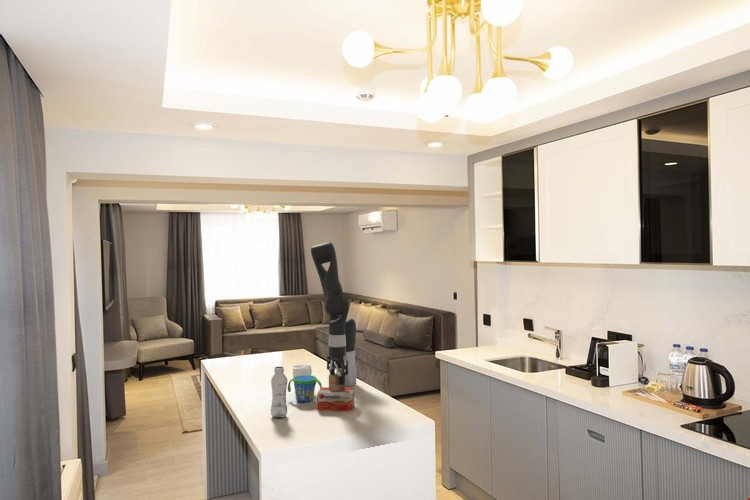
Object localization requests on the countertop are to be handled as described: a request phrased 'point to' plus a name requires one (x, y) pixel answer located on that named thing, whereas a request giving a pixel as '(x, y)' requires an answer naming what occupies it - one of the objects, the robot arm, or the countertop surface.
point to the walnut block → (335, 383)
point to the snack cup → (304, 387)
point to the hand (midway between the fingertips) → (337, 382)
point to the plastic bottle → (279, 393)
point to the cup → (301, 370)
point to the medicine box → (335, 400)
